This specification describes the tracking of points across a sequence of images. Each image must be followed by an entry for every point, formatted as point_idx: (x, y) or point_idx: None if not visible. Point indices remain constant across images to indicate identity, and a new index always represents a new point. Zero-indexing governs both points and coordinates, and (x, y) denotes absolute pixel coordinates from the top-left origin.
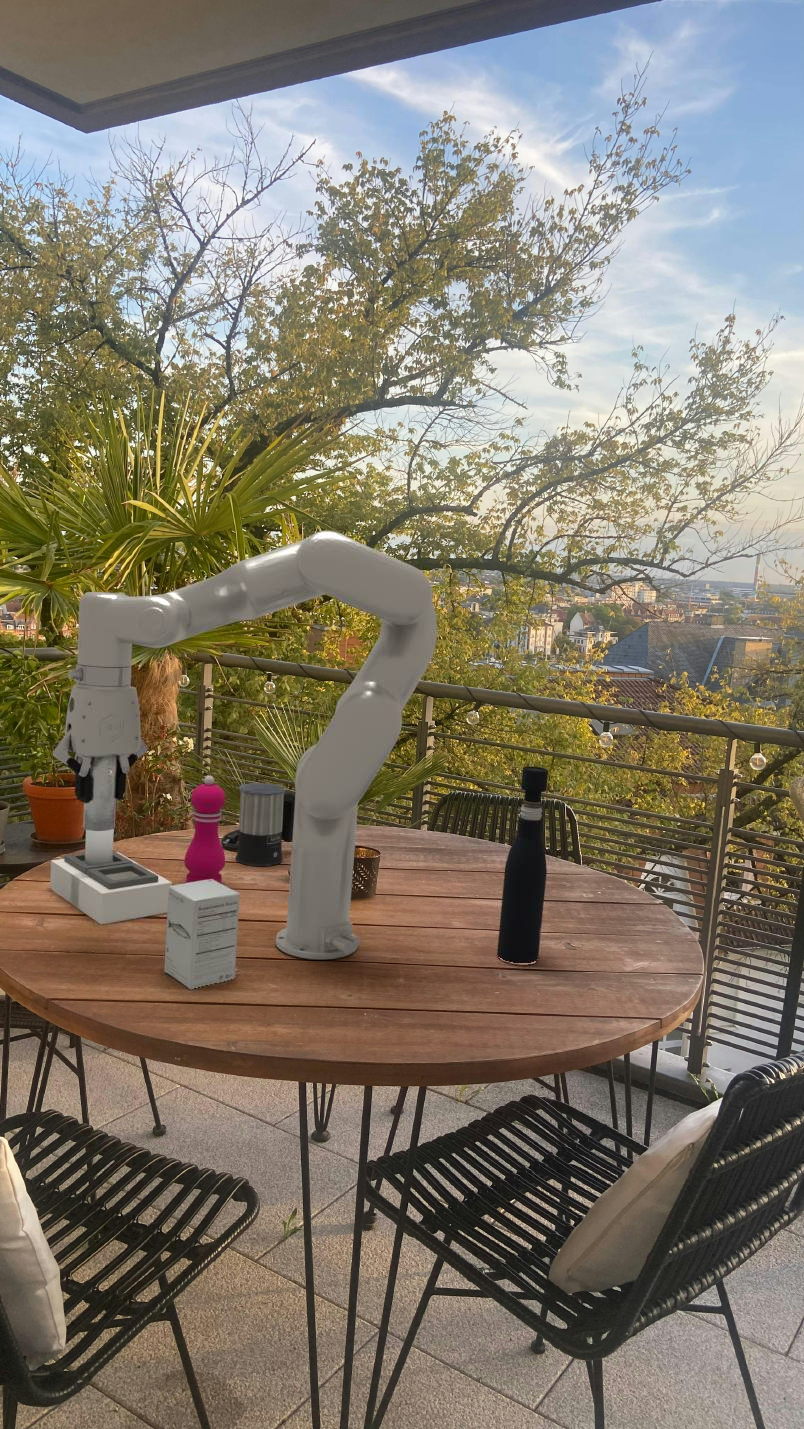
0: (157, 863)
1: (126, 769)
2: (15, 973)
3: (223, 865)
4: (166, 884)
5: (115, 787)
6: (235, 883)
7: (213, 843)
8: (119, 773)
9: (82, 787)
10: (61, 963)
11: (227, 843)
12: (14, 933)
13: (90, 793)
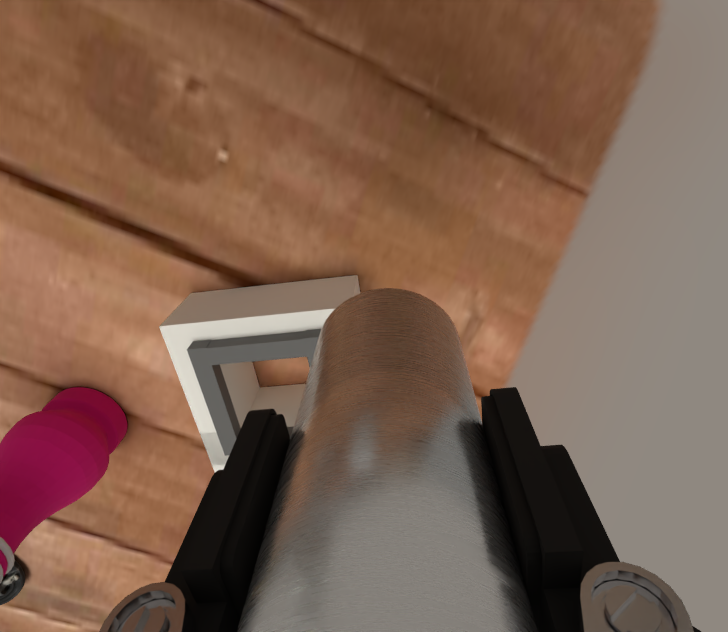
0: (164, 539)
1: (136, 623)
2: (651, 36)
3: (16, 423)
4: (175, 323)
5: (288, 469)
6: (21, 402)
7: (1, 468)
8: (220, 591)
9: (559, 492)
10: (526, 59)
11: (10, 574)
12: (542, 292)
13: (495, 432)
